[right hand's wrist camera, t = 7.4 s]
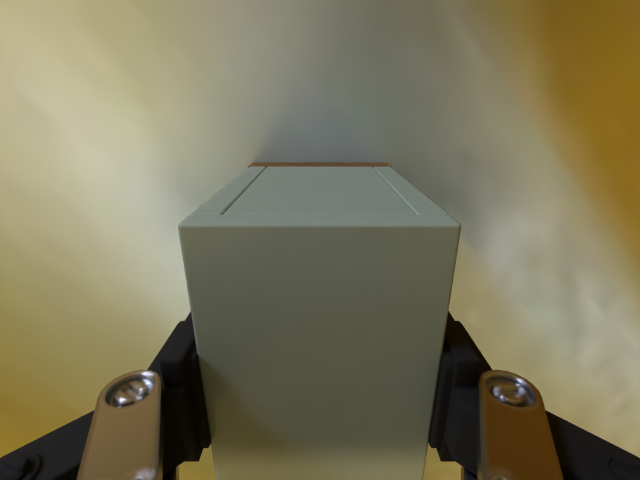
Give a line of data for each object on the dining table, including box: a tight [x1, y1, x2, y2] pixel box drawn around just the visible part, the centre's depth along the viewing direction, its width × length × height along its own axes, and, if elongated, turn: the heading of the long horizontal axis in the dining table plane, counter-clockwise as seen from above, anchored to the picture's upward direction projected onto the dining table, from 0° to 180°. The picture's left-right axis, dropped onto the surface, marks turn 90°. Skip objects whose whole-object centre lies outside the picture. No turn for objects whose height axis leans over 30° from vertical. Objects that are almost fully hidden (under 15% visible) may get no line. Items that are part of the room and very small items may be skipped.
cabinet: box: [178, 163, 461, 480], centre depth 15 cm, size 21×6×9 cm, turn 0°
